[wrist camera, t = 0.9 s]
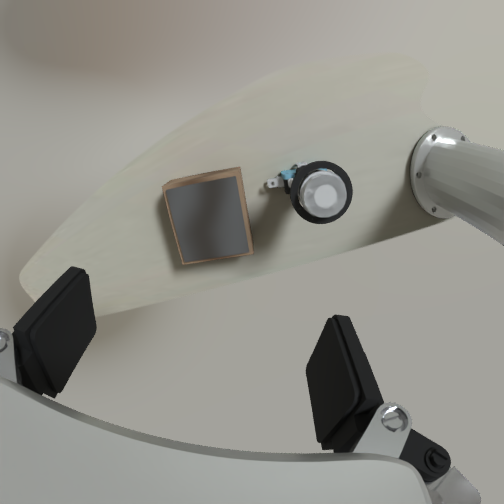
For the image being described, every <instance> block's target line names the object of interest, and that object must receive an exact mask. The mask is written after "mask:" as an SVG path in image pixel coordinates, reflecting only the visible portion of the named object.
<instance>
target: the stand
mask: <svg viewBox="0 0 504 504" xmlns="http://www.w3.org/2000/svg"><path fill="white" fill-rule="evenodd" d="M162 189H163V193H164V197H165V201H166V205H167V209H168V213H169V217H170V221H171V224H172V228H173V232H174V236H175V239H176V243H177V246H178V250H179V253H180V257H181V260H182V264H183V265H184V264H191V263H198V262H204V261H211V260H217V259H224V258H230V257H237V256H243V255H250V254H254V250H253V239H252V233H251V227H250V221H249V215H248V210H247V204H246V198H245V192H244V187H243V181H242V175H241V169H240V167H235V168H229V169H224V170H218V171H213V172H208V173H203V174H198V175H193V176H188V177H183V178H179V179H174V180H170V181H169V182H168V183H166V184H165V185H164V186H162Z"/></svg>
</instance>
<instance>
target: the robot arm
mask: <svg viewBox="0 0 504 504" xmlns="http://www.w3.org/2000/svg"><path fill="white" fill-rule="evenodd" d="M410 178H411V186H412V189H413V193H414V195H415V197H416V200H417V202H418V203H419V204H420V206H421V207H422V208H423V209H424V210H425V211H426V212H428V213H429V214H431V215H433V216H435V217H438V218H444V219H445V218H451V217H453V216H457V217H459V218H461V219H462V220H464V221H466V222H468V223H469V224H471V225H472V226H474V227H476V228H477V229H479V230H480V231H482V232H484V233H485V234H487V235H489V236H490V237H491V238H493V239H495V240H496V241H498V242H499V243H500V244H502V245H503V246H504V150H501V149H497V148H493V147H489V146H484V145H480V144H476V143H471V142H470V141H469V139H468V138H467V137H466V135H464V134H463V133H462V132H461V131H459V130H457V129H455V128H452V127H446V126H440V127H435V128H433V129H431V130H429V131H428V132H427V133H425V134H424V135H423V136H422V138H421V139H420V140H419V142H418V144H417V146H416V148H415V150H414V153H413V156H412V161H411V167H410ZM13 328H14V332H13V333H12V334H11V332H10V331H8V330H7V329H3V328H0V504H480V502H481V497H480V493H479V492H478V490H477V489H476V488H475V487H474V486H473V485H472V484H471V483H470V482H469V481H468V480H467V479H466V478H465V477H464V476H463V475H462V474H461V473H460V472H459V471H458V470H457V469H456V468H455V467H453V468H451V467H450V464H451V460H450V456H449V454H448V452H447V451H446V450H445V449H444V448H443V447H441V446H440V445H438V444H436V443H435V442H433V441H431V440H429V439H428V438H426V437H424V436H423V435H421V434H420V433H418V432H416V431H415V430H413V429H411V426H412V419H411V416H410V414H409V412H408V411H407V410H406V409H405V408H404V407H402V406H401V405H399V404H396V403H391V402H389V403H384V401H383V399H382V396H381V393H380V391H379V388H378V385H377V382H376V380H375V377H374V375H373V372H372V369H371V367H370V365H369V362H368V359H367V357H366V354H365V353H364V351H363V348H362V346H361V344H360V341H359V339H358V336H357V334H356V331H355V329H354V327H353V324H352V322H351V320H350V318H349V317H348V316H342V315H334V316H333V317H332V318H328V320H327V322H326V324H325V326H324V329H323V331H322V333H321V336H320V338H319V340H318V342H317V345H316V347H315V349H314V351H313V354H312V355H311V357H310V359H309V362H308V364H307V367H306V376H307V382H308V387H309V394H310V400H311V406H312V412H313V419H314V425H315V431H316V437H317V441H318V442H319V443H321V445H322V450H329V449H333V450H334V453H316V454H315V453H313V454H296V453H294V454H293V453H265V452H250V451H239V450H230V449H222V448H214V447H208V446H200V445H195V444H189V443H184V442H179V441H174V440H170V439H165V438H161V437H157V436H153V435H149V434H145V433H141V432H137V431H134V430H130V429H127V428H124V427H120V426H117V425H114V424H111V423H108V422H105V421H102V420H99V419H97V418H94V417H91V416H88V415H86V414H83V413H80V412H78V411H76V410H73V409H71V408H69V407H66V406H64V405H62V404H59V403H57V402H55V401H53V400H50V399H48V398H46V397H44V396H42V394H43V393H44V394H46V395H48V396H50V397H52V398H55V397H56V395H57V393H61V392H62V390H63V389H64V386H65V385H66V383H67V381H68V379H69V377H70V376H71V374H72V372H73V370H74V369H75V367H76V365H77V363H78V362H79V360H80V358H81V356H82V355H83V353H84V351H85V350H86V348H87V346H88V345H89V343H90V342H91V340H92V338H93V337H94V335H95V333H96V321H95V315H94V309H93V303H92V296H91V289H90V281H89V275H88V274H86V271H85V270H84V269H81V268H77V267H70V268H69V269H68V270H67V271H66V272H65V273H64V274H63V275H62V276H61V277H60V278H59V279H58V280H57V281H56V282H55V283H54V284H53V285H52V286H51V287H50V288H49V289H48V290H47V291H46V292H45V293H44V294H43V295H42V296H41V297H40V298H39V299H38V300H37V301H36V302H35V303H34V304H33V306H32V307H31V308H30V309H29V310H28V311H27V312H26V313H25V314H24V316H23V317H22V318H21V319H20V320H19V321H18V323H16V325H15V326H14V327H13Z"/></svg>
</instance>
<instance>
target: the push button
mask: <svg viewBox="0 0 504 504" xmlns="http://www.w3.org/2000/svg"><path fill="white" fill-rule="evenodd" d="M296 165H297V166H298V168H297V169H292V170H286V171H281V176H276V177H277V178H272V179H267V183H268V186H269V188H272V187H278V186H279V188H280V187H284V188H285V192H286V194H290V198H291V202H292V205H293V207H294V209H295V210H296V212H297V213H298V214H299V215H300V216H301V217H302V218H303V219H305V220H307V221H309V222H311V223H315V224H326V223H330V222H333V221H335V220H337V219H338V218H340V217H341V216H342V215H343V214H344V213H345V212H346V210H347V209H348V207H349V205H350V203H351V200H352V194H353V190H352V184H351V181H350V178H349V176H348V175H347V173H346V172H345V171H344V170H343V169H342V168H341V167H339V166H338V165H336V164H334V163H331V162H327V161H316V162H312V163H309V164H307V163H306V162H301V163H296ZM327 169H330V170H332V171H333V172H334V173H333V172H331V171H327ZM271 182H274V183H273V184H271ZM298 196H299V198H300V200H301V203H302V205H303V207H304V208H303V207H302V206H301V205H300V203H299V200H298Z"/></svg>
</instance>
